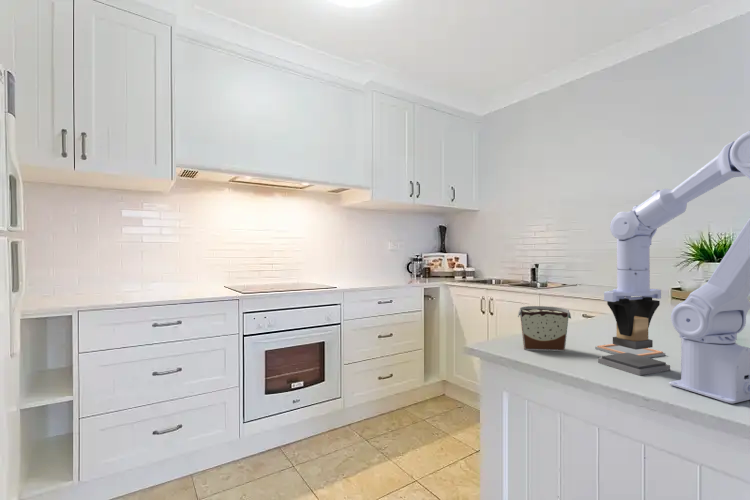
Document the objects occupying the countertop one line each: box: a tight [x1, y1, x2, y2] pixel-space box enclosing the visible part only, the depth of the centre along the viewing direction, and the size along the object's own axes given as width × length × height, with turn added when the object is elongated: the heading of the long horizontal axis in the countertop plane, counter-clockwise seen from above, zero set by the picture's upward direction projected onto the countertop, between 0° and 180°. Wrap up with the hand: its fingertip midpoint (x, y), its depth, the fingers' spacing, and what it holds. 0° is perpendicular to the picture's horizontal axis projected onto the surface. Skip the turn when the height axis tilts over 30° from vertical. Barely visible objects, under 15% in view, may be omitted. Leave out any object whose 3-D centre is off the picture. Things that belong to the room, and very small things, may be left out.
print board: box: [594, 343, 666, 359], centre depth 91 cm, size 10×10×1 cm
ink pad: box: [597, 353, 671, 376], centre depth 80 cm, size 9×9×2 cm
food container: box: [517, 305, 572, 352], centre depth 96 cm, size 12×6×10 cm, turn 82°
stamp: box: [612, 316, 654, 350], centre depth 81 cm, size 5×5×6 cm
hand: (633, 334), depth 80 cm, fingers closed on stamp, 4 cm apart
